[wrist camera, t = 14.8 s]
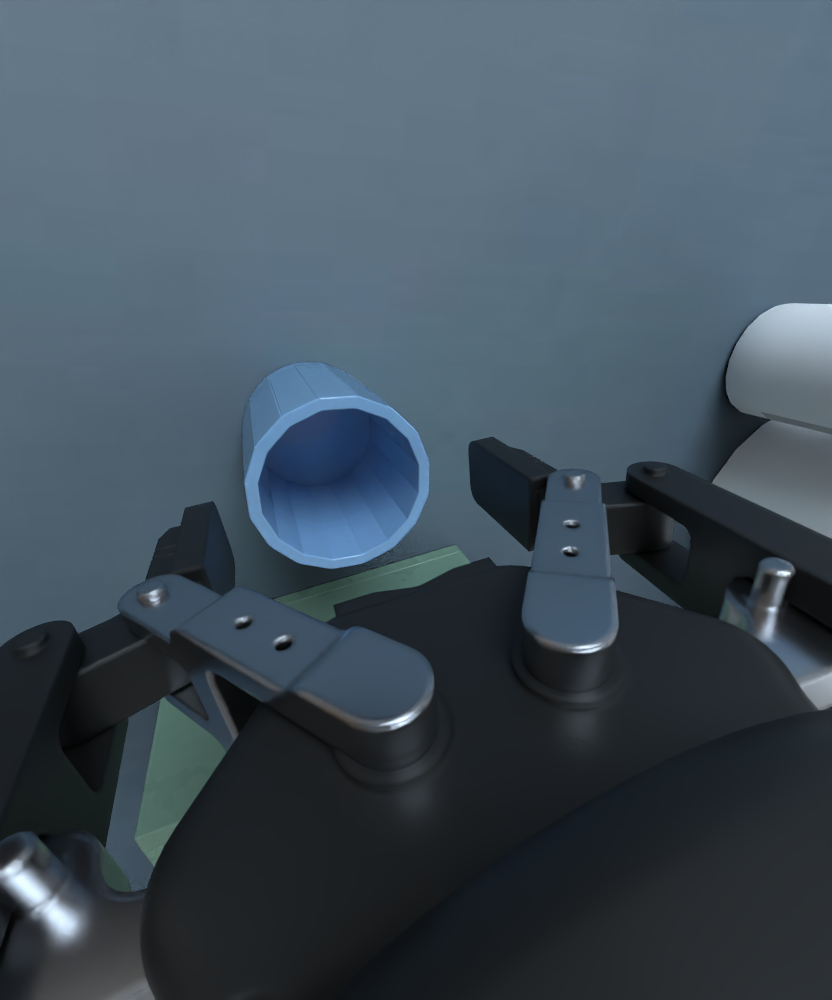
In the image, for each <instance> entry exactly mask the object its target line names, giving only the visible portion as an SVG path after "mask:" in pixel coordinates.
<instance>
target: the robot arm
mask: <svg viewBox="0 0 832 1000" xmlns="http://www.w3.org/2000/svg"><path fill="white" fill-rule="evenodd" d="M468 450H469V468H470V485H471V491H472V495H473V497H474V499H475V501H476V502H477V504H478V505H480V506H481V507H482V508H483V509H484V510H485V511H486V512H487V513H488V514H489V515H490V516H491V517H492V518H494V519H495V520H496V521H497V522H498V523H499V524H500V525H501V526H502V527H503V528H504V529H505V530H507V531H508V532H509V533H510V534H511V535H512V536H513V537H514V538H515V539H516V540H517V541H518V542H519V543H521V544H522V545H523V546H524V547H525V548H526V549H527V550H528V551H529V552H530V551H533V550H534V552H533V559H532V565H531V567H527V566H513V565H509V566H496V565H495V564H494V563H493V561H492V560H491V559H490V558H489V557H488V558H485V559H482V560H478V561H475V562H472V563H469V564H465V565H462V566H459V567H455V568H453V569H451V570H449V571H447V572H445V573H443V574H441V575H439V576H437V577H435V578H433V579H431V580H430V581H428V582H426V583H424V584H422V585H420V586H416V587H410V588H403V589H395V590H388V591H380V592H374V593H370V594H367V595H364V596H360V597H357V598H354V599H351V600H347V601H344V602H341V603H337V604H334V605H333V607H334V611H335V615H336V617H334V618H332V619H330V620H329V621H327V622H322V621H320V620H318V619H316V618H313V617H311V616H309V615H307V614H304V613H302V612H300V611H298V610H295V609H293V608H291V607H288V606H286V605H284V604H282V603H279V602H277V601H275V600H273V599H270V598H268V597H266V596H264V595H261V594H259V593H257V592H254V591H252V590H250V589H248V588H245V587H243V586H235V562H234V557H233V553H232V550H231V547H230V544H229V541H228V538H227V535H226V532H225V530H224V527H223V524H222V521H221V518H220V516H219V513H218V510H217V508H216V505H215V503H214V502H213V501H212V502H207V503H203V504H199V505H194V506H190V507H186V508H185V510H184V514H183V518H182V522H181V526H178V527H174V528H170V529H169V530H168V531H167V532H166V533H165V534H164V535H163V536H162V537H160V538H159V540H158V543H157V546H156V549H155V551H156V552H154V555H153V558H152V559H153V560H152V561H151V564H150V567H149V570H148V573H147V576H146V579H145V581H143V582H141V583H139V584H137V585H136V586H134V587H133V588H131V589H130V590H128V591H127V592H126V593H125V594H124V595H123V596H122V597H121V599H120V600H119V602H118V610H119V612H120V614H119V615H117V616H115V617H113V618H112V619H110V620H108V621H105V622H103V623H101V624H99V625H97V626H94V627H92V628H90V629H88V630H86V631H83V632H81V633H79V634H78V633H77V631H76V630H75V628H74V626H73V625H72V623H70V622H68V621H52V622H48V623H44V624H41V625H38V626H35V627H33V628H30V629H28V630H26V631H24V632H22V633H20V634H18V635H17V636H15V637H13V638H12V639H10V640H9V641H8V642H6V643H5V644H4V645H2V646H1V647H0V1000H832V539H831V538H829V537H827V536H825V535H823V534H820V533H818V532H816V531H814V530H812V529H810V528H808V527H805V526H803V525H801V524H799V523H797V522H795V521H792V520H790V519H788V518H786V517H784V516H782V515H779V514H777V513H775V512H773V511H771V510H769V509H766V508H764V507H762V506H760V505H758V504H756V503H753V502H751V501H749V500H747V499H745V498H743V497H741V496H738V495H736V494H734V493H732V492H730V491H728V490H725V489H723V488H721V487H719V486H717V485H715V484H712V483H710V482H708V481H706V480H704V479H702V478H699V477H697V476H695V475H693V474H691V473H689V472H686V471H684V470H682V469H680V468H678V467H676V466H673V465H670V464H667V463H661V462H639V463H635V464H632V465H630V466H629V467H628V468H627V474H626V481H622V482H611V483H601V481H600V477H599V476H598V475H597V474H595V473H593V472H591V471H587V470H583V469H563V470H556V469H554V468H553V467H551V466H549V465H547V464H546V463H544V462H541V461H540V460H539V459H537V458H536V457H533V456H532V455H530V454H529V453H527V452H525V451H524V450H520V449H516V448H512V447H509V446H507V445H505V444H504V443H502V442H501V441H499V440H497V439H496V438H494V437H489V438H484V439H480V440H476V441H472V442H470V444H469V449H468ZM675 520H676V521H678V522H679V523H681V524H682V525H684V526H685V527H686V528H687V530H688V531H689V533H690V536H691V546H690V551H689V550H687V549H686V548H684V547H683V546H681V545H679V544H678V543H676V542H675V541H673V540H672V534H673V528H674V522H675ZM615 554H618V555H619V556H620V558H621V559H622V560H624V561H625V562H626V563H627V564H629V565H630V566H631V567H632V568H634V569H635V570H636V571H637V572H639V573H640V574H641V575H642V576H644V577H645V578H646V579H647V580H649V581H650V582H651V583H652V584H654V585H655V586H656V587H657V588H659V589H660V590H661V591H662V592H664V593H665V594H666V595H667V596H669V597H670V598H671V599H672V600H674V601H675V602H676V603H677V604H679V605H680V606H681V607H682V608H684V609H682V608H678V607H674V606H671V605H667V604H664V603H660V602H656V601H653V600H649V599H646V598H642V597H638V596H635V595H631V594H628V593H624V592H620V591H617V590H616V586H615V580H614V579H613V578H612V572H611V561H610V555H615ZM164 697H165V698H166V700H167V701H168V702H169V703H170V704H172V705H173V706H174V707H176V708H177V709H178V710H180V711H181V712H182V713H184V714H185V715H186V716H188V717H189V718H190V719H191V720H193V721H194V722H195V723H197V724H198V725H199V726H201V727H202V728H203V729H205V730H206V731H207V732H208V733H210V734H211V735H212V736H213V737H214V738H215V739H216V740H217V741H218V742H219V743H220V744H221V746H222V747H223V749H224V750H225V751H226V754H225V755H224V757H223V758H222V760H221V761H220V763H219V764H218V766H217V767H216V769H215V770H214V772H213V773H212V775H211V776H210V778H209V779H208V780H207V782H206V783H205V785H204V786H203V788H202V789H201V791H200V792H199V794H198V795H197V797H196V798H195V800H194V801H193V803H192V804H191V806H190V807H189V808H188V810H187V811H186V813H185V814H184V816H183V817H182V819H181V820H180V822H179V823H178V825H177V826H176V828H175V829H174V831H173V833H172V834H171V836H170V837H169V839H168V841H167V842H166V844H165V845H164V847H163V850H162V852H161V854H160V856H159V858H158V860H157V862H156V864H155V867H154V870H153V872H152V875H151V878H150V880H149V883H148V887H147V888H146V889H143V890H139V891H134V892H131V891H130V883H129V880H128V878H127V876H126V874H125V873H124V872H123V870H122V869H121V868H120V867H119V865H118V864H117V863H116V862H115V860H114V859H113V858H112V857H111V855H110V854H109V853H108V852H107V850H106V849H105V846H106V841H107V835H108V830H109V825H110V819H111V814H112V808H113V803H114V797H115V792H116V786H117V781H118V775H119V770H120V765H121V759H122V754H123V748H124V743H125V737H126V732H127V726H128V717H130V716H131V715H133V714H135V713H137V712H139V711H140V710H142V709H144V708H146V707H148V706H149V705H151V704H153V703H155V702H156V701H158V700H160V699H162V698H164Z"/></svg>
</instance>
